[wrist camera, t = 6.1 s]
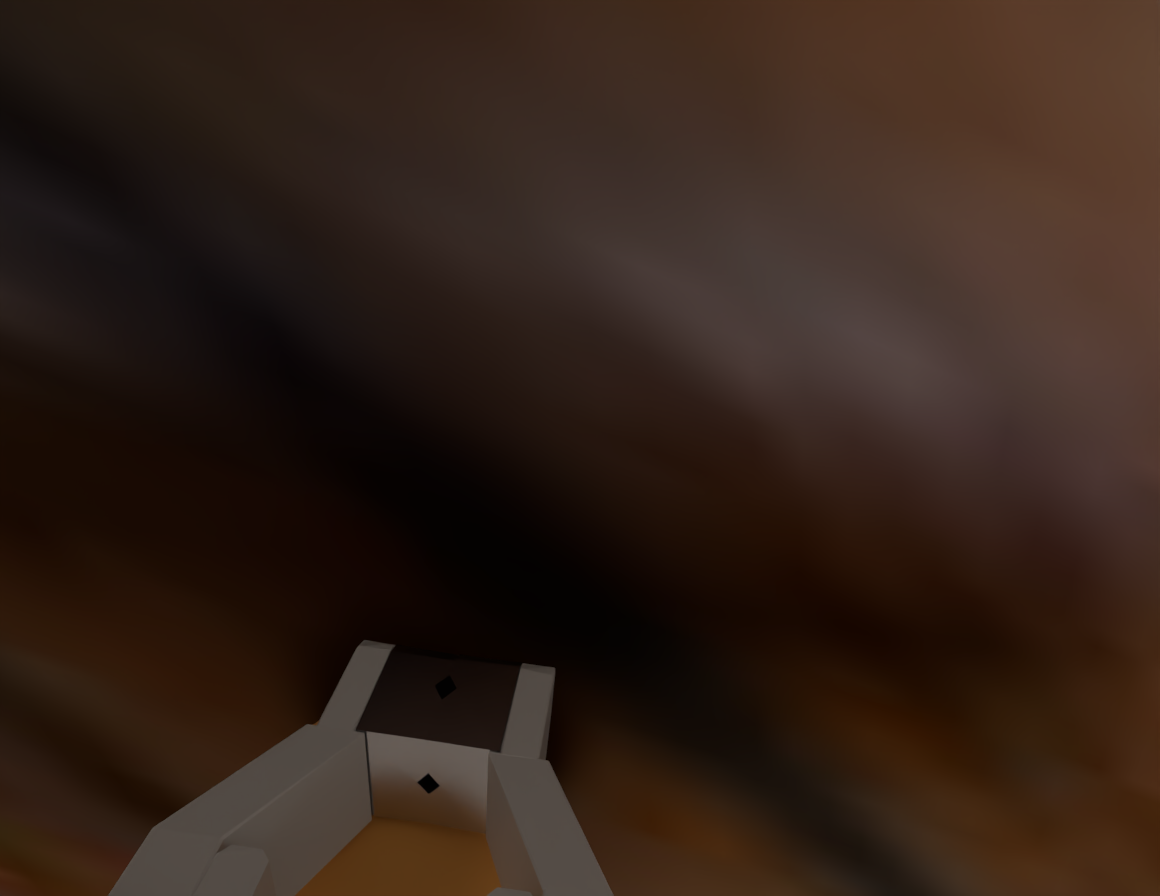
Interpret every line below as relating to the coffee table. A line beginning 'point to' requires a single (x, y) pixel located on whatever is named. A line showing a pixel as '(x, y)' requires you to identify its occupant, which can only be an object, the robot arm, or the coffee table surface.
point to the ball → (408, 863)
